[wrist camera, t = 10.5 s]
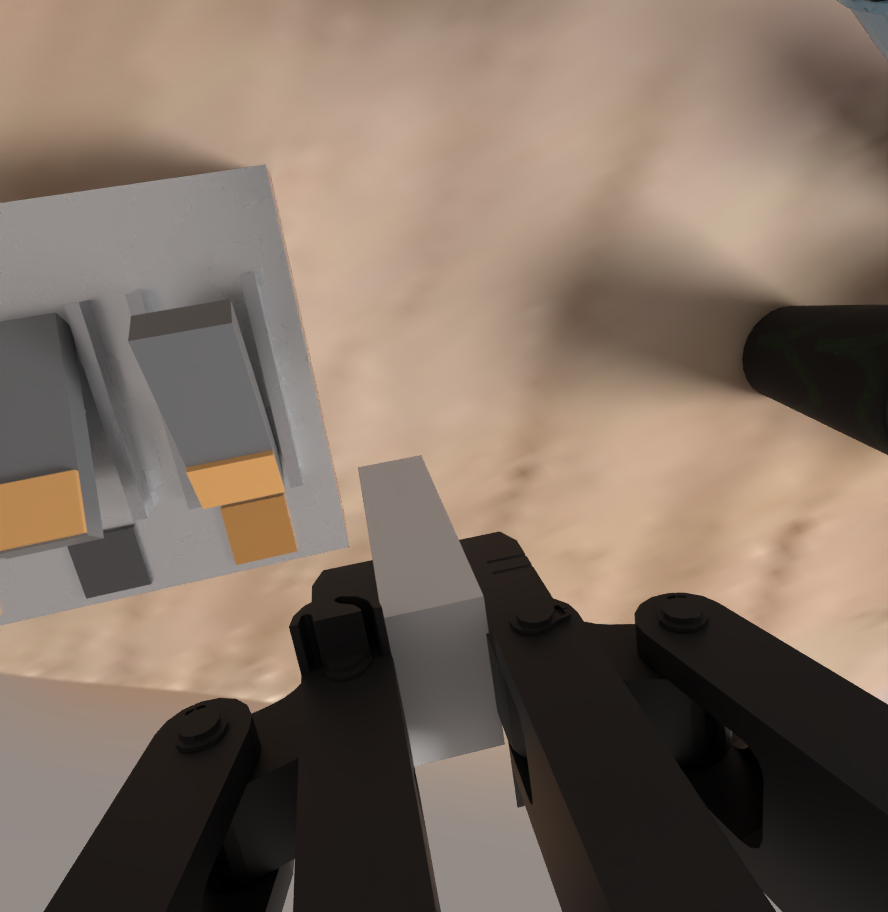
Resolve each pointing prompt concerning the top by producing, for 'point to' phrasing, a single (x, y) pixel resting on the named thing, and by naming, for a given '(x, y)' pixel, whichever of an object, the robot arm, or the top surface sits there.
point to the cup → (826, 366)
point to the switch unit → (130, 399)
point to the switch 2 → (209, 400)
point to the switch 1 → (43, 441)
